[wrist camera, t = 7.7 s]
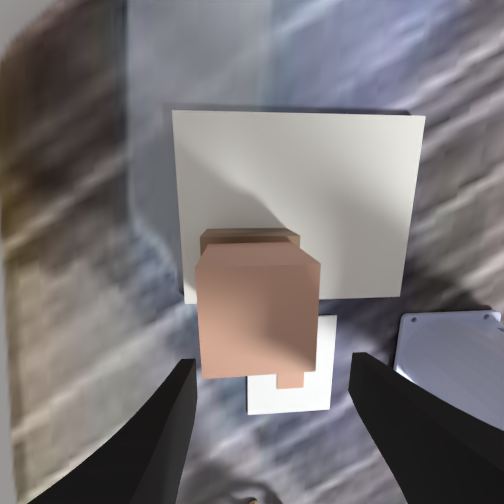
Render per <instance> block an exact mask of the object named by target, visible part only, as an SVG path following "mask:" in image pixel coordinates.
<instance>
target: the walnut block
mask: <svg viewBox="0 0 504 504" xmlns="http://www.w3.org/2000/svg"><path fill="white" fill-rule="evenodd" d="M263 242H293V243H294V244H295V245H297V246H298V247H299V248H300V235H298V234H296V233H295V232H293V231H291V230H289V229H287V228H227V229H206V231H205V232H204V233H203V234H202V235H201V236H200V253H201V256H202V254H203V252H204V250H205V249H206V247H207V245H208V244H228V243H263Z"/></svg>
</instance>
